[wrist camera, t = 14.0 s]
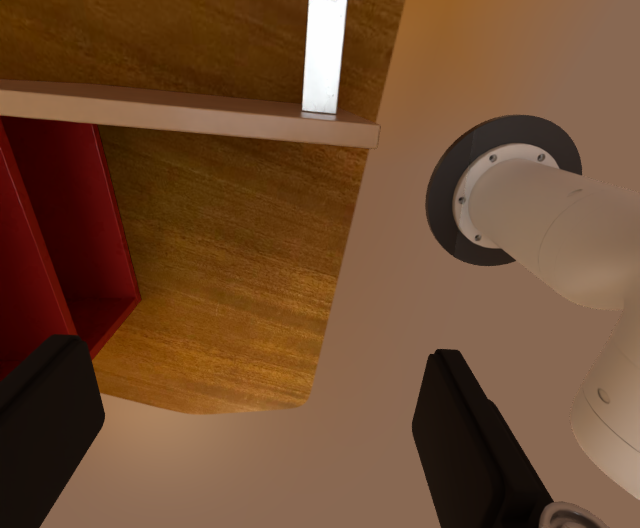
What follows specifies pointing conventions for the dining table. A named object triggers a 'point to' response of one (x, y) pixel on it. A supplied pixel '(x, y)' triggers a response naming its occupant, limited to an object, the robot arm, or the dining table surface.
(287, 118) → the door
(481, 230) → the robot arm
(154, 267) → the dining table surface
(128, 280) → the box
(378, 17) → the dining table surface
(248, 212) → the dining table surface
